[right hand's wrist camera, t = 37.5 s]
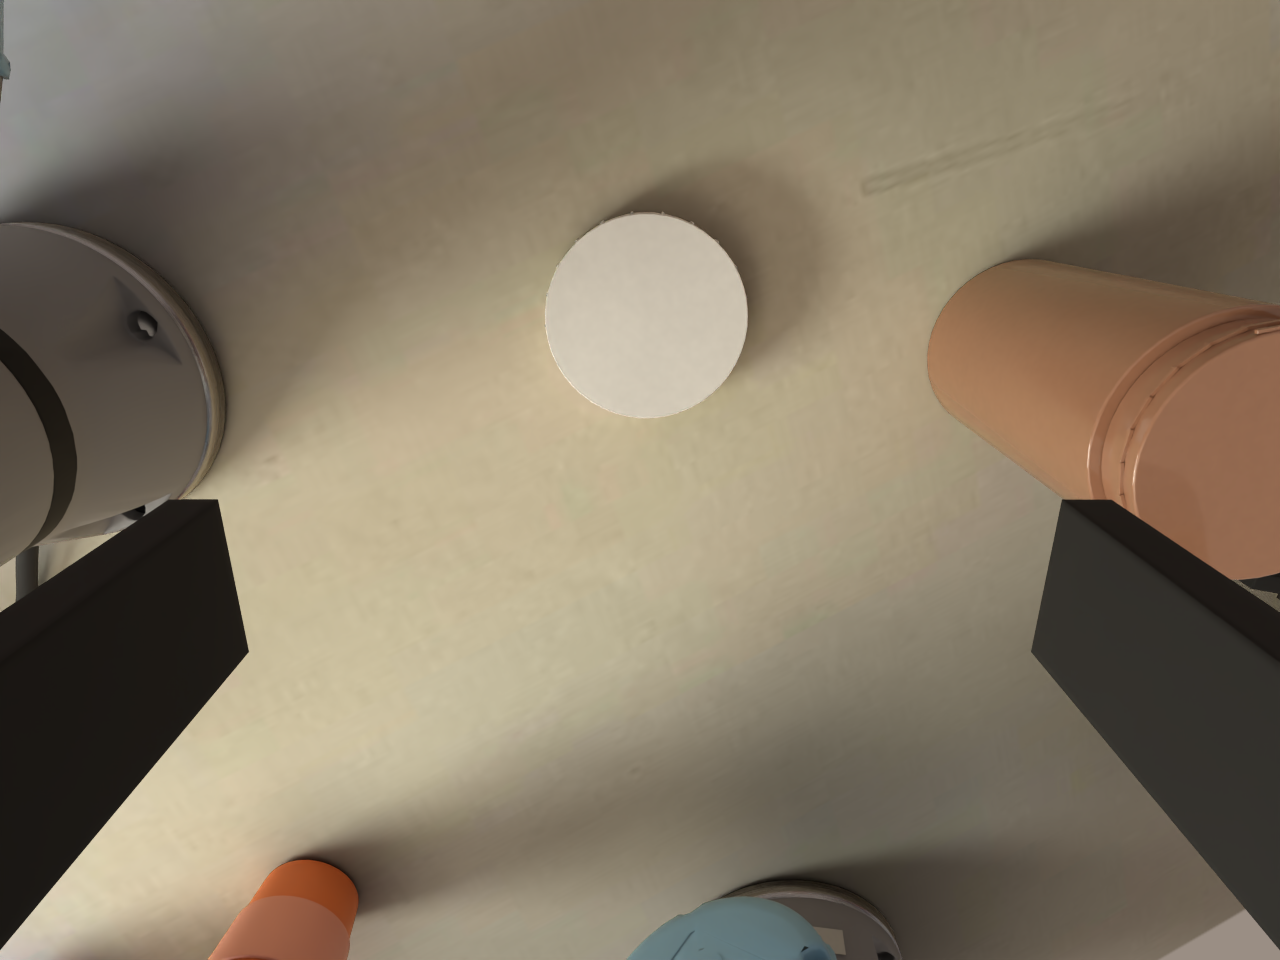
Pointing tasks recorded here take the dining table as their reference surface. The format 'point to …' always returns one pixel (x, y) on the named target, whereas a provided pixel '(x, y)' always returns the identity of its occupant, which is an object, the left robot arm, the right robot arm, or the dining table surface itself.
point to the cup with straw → (294, 916)
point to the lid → (646, 315)
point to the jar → (1126, 398)
